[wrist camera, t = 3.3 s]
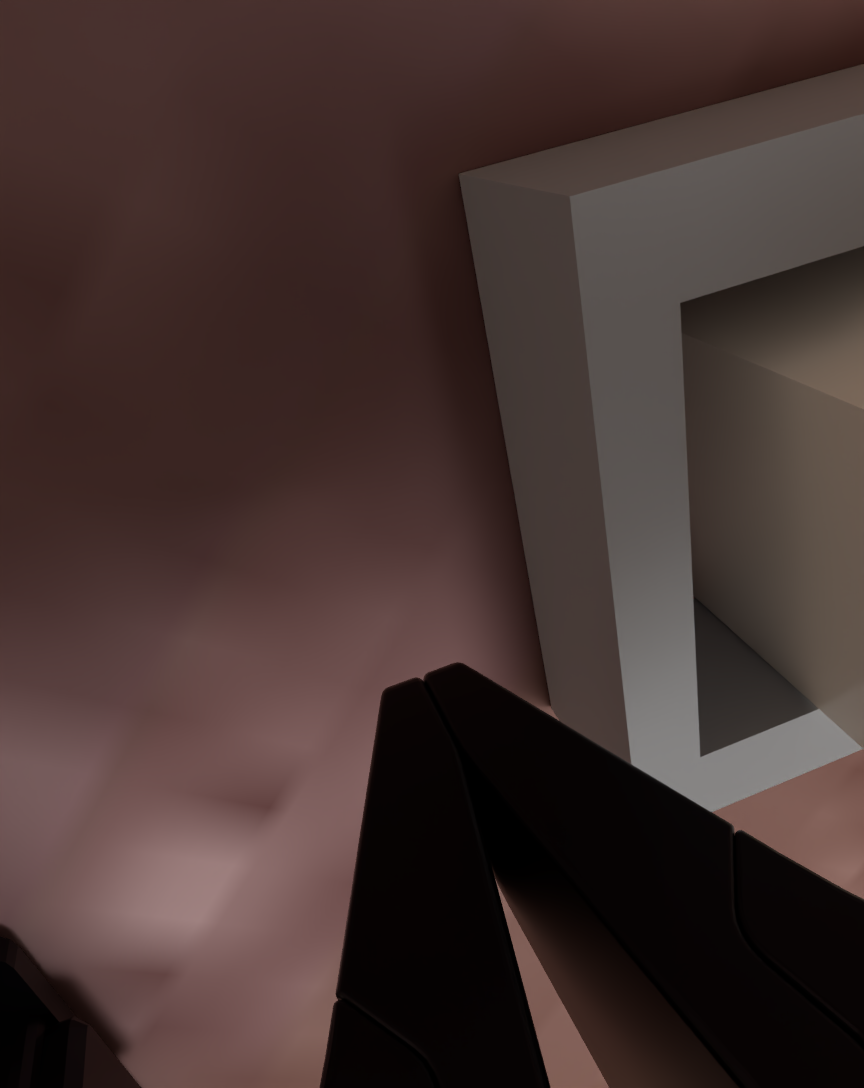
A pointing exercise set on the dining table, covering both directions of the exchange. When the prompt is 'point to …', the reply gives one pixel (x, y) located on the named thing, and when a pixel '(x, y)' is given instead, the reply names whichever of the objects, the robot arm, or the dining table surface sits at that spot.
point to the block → (783, 472)
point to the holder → (651, 409)
